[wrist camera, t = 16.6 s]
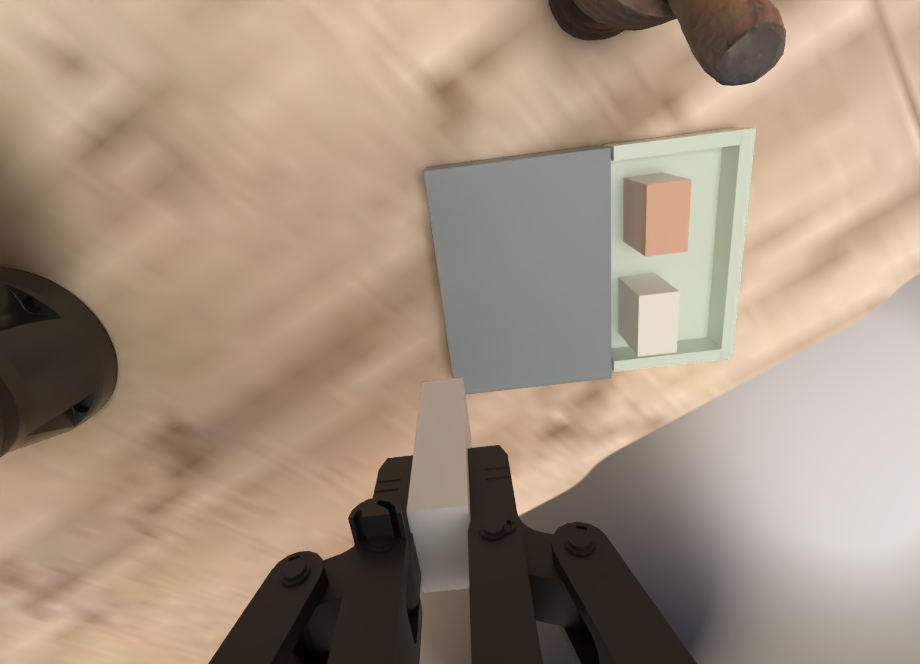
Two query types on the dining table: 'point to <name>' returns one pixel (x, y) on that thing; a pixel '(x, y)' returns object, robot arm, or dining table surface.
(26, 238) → the dining table surface
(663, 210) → the tile terracotta
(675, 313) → the tile cream
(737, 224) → the tray
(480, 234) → the grey rectangular slab
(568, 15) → the mortar and pestle
